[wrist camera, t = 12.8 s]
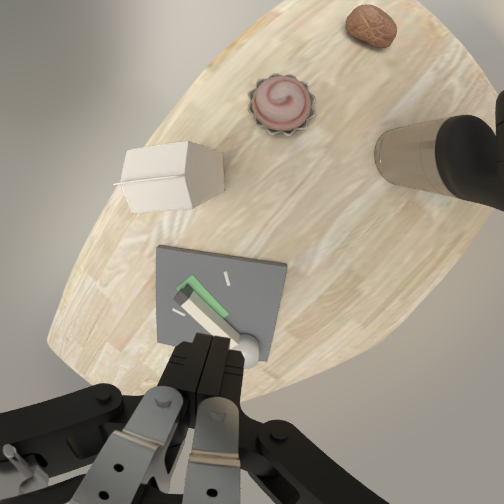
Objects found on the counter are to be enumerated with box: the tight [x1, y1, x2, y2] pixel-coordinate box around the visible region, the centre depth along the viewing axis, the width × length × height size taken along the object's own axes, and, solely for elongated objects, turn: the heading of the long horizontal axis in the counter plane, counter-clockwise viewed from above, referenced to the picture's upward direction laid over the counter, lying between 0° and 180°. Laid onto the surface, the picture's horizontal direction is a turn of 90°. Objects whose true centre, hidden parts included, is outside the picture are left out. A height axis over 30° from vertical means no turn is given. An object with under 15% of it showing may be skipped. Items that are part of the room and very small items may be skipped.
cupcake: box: [247, 74, 316, 136], centre depth 32 cm, size 9×9×10 cm
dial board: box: [156, 245, 287, 362], centre depth 46 cm, size 21×19×2 cm
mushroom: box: [346, 5, 397, 48], centre depth 28 cm, size 8×6×8 cm
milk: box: [113, 141, 225, 213], centre depth 30 cm, size 6×6×22 cm
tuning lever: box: [173, 284, 259, 369], centre depth 44 cm, size 18×5×4 cm, turn 42°
